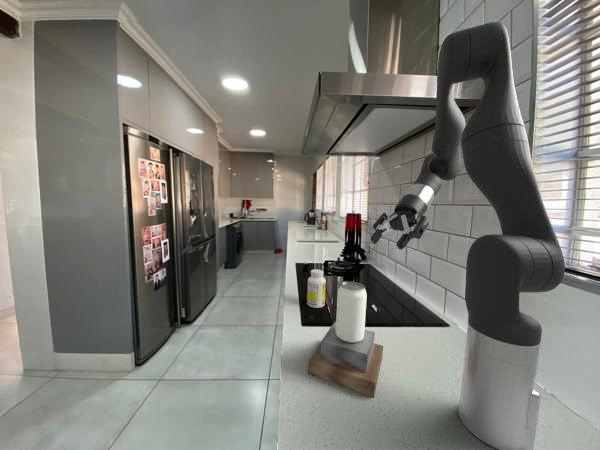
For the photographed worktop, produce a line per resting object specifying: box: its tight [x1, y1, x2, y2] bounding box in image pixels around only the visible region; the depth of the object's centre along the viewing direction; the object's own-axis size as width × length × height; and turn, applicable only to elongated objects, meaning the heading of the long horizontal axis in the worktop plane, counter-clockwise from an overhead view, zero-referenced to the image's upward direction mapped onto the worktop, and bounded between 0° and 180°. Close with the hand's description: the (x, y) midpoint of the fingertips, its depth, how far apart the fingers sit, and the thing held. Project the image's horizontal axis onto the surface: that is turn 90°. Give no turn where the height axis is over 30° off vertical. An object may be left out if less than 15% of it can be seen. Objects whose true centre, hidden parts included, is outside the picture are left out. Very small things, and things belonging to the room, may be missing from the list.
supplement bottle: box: [306, 268, 327, 309], centre depth 89 cm, size 7×7×13 cm
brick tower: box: [307, 321, 384, 398], centre depth 56 cm, size 14×14×7 cm
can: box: [335, 281, 368, 343], centre depth 55 cm, size 6×6×12 cm
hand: (385, 244), depth 64 cm, fingers open, 8 cm apart
